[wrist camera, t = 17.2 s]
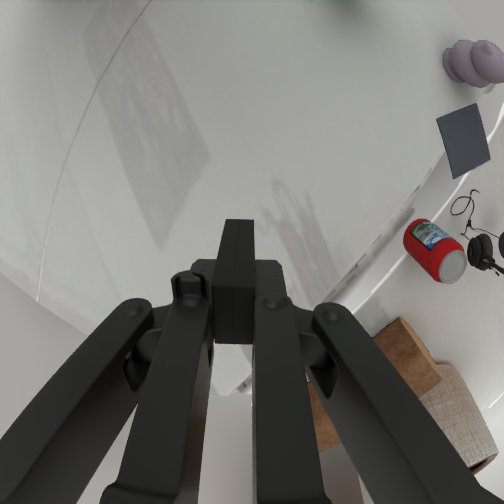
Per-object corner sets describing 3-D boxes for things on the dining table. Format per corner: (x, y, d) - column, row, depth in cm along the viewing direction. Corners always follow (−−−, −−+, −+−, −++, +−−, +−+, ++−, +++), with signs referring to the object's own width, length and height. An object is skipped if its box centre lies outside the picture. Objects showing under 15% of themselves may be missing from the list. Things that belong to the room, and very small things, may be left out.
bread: (278, 397, 63) (282, 448, 50) (399, 313, 52) (428, 362, 39) (314, 414, 67) (321, 459, 54) (423, 341, 56) (448, 385, 43)
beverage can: (435, 218, 43) (475, 247, 32) (426, 252, 46) (461, 287, 35) (405, 215, 43) (444, 246, 32) (397, 252, 46) (430, 289, 35)
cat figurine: (478, 71, 30) (523, 71, 19) (462, 96, 33) (509, 100, 22) (449, 35, 28) (494, 25, 17) (431, 58, 31) (477, 51, 20)
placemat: (436, 119, 35) (436, 119, 35) (476, 103, 33) (476, 103, 33) (453, 179, 40) (453, 179, 39) (490, 159, 37) (490, 159, 37)
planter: (350, 443, 77) (367, 523, 48) (336, 391, 62) (363, 510, 33) (446, 404, 72) (477, 475, 43) (464, 338, 57) (521, 431, 28)
